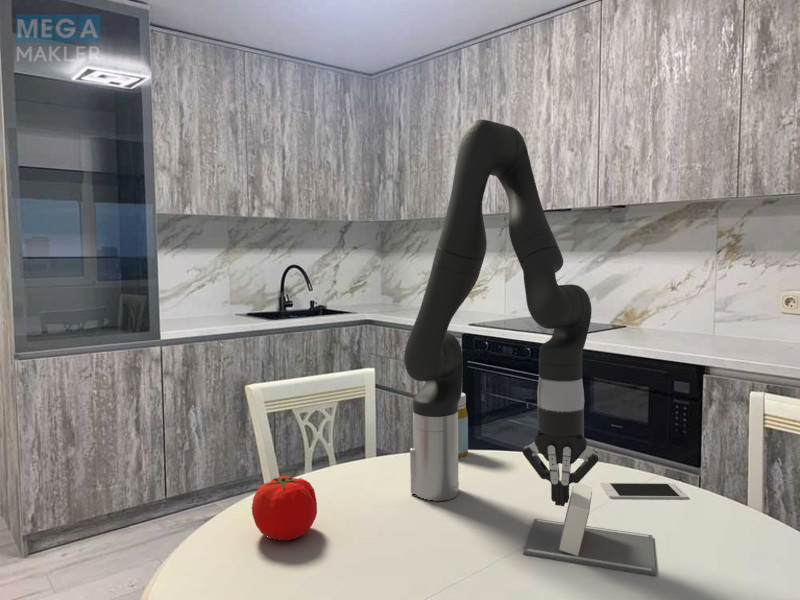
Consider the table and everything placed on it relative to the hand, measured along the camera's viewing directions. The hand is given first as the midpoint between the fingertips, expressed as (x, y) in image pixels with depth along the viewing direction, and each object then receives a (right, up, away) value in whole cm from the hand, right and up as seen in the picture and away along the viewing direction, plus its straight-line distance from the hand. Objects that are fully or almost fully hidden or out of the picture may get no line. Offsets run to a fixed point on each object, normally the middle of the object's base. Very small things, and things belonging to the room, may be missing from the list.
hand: (560, 503), depth 101 cm
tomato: (-48, -7, +5) cm, 48 cm away
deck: (+3, -2, -1) cm, 3 cm away
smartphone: (+23, -5, +21) cm, 31 cm away
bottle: (-14, -4, +46) cm, 48 cm away
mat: (+5, -7, -1) cm, 8 cm away
